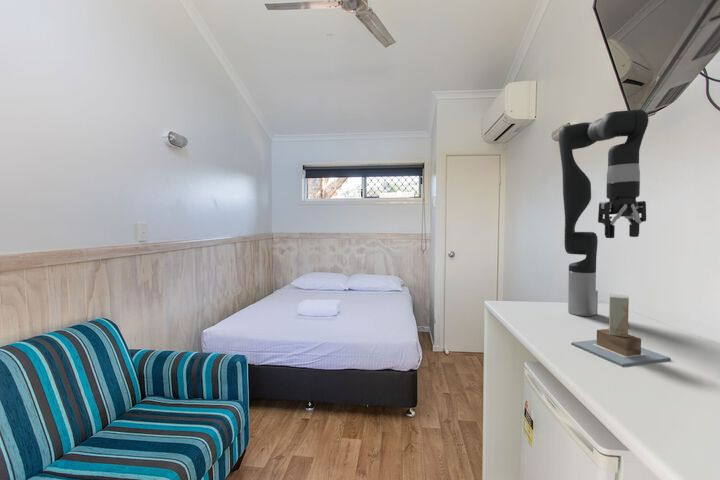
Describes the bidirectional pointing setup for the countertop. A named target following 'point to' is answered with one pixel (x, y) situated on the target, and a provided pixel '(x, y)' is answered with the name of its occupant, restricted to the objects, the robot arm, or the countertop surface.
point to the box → (618, 315)
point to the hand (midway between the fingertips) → (621, 237)
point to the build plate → (617, 358)
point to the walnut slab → (619, 343)
